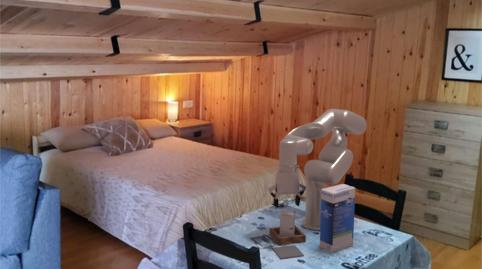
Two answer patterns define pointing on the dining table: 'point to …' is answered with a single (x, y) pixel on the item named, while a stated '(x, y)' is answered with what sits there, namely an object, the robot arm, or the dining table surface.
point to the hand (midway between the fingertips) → (286, 206)
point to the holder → (279, 240)
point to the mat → (288, 252)
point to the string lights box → (337, 217)
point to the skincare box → (287, 223)
